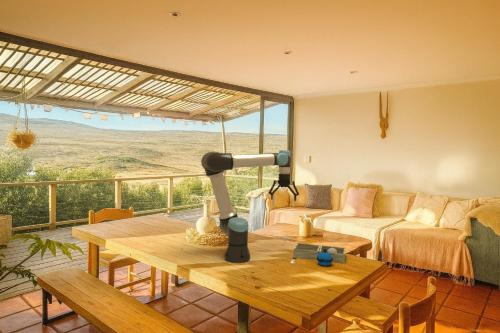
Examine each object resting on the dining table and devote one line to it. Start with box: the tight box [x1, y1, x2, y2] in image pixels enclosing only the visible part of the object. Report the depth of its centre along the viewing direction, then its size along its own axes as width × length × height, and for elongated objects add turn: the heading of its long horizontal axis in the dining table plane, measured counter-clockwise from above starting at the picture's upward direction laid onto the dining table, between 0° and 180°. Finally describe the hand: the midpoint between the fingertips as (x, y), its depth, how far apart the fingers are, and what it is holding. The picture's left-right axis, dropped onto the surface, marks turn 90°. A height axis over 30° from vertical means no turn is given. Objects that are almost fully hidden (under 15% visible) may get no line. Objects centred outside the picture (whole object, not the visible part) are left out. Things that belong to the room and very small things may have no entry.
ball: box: [327, 248, 337, 253], centre depth 200 cm, size 6×6×6 cm
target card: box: [290, 259, 297, 265], centre depth 193 cm, size 6×8×1 cm
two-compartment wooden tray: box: [292, 242, 346, 264], centre depth 202 cm, size 15×30×6 cm, turn 73°
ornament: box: [316, 249, 333, 267], centre depth 188 cm, size 9×9×10 cm
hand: (283, 205), depth 222 cm, fingers open, 13 cm apart
